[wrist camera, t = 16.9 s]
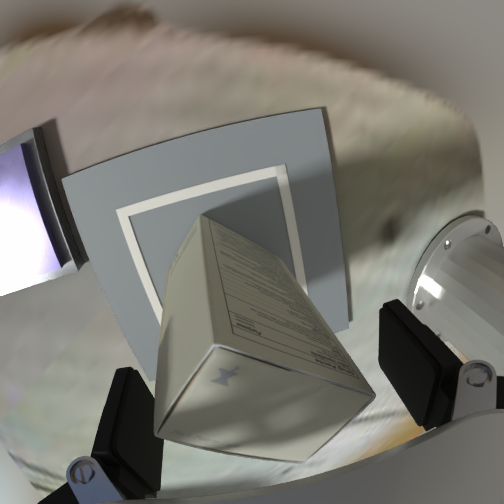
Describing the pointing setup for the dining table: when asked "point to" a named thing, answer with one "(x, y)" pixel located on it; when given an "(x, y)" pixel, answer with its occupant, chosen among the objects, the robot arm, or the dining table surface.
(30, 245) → the ink pad
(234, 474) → the dining table surface
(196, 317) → the skincare box
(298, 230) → the card
